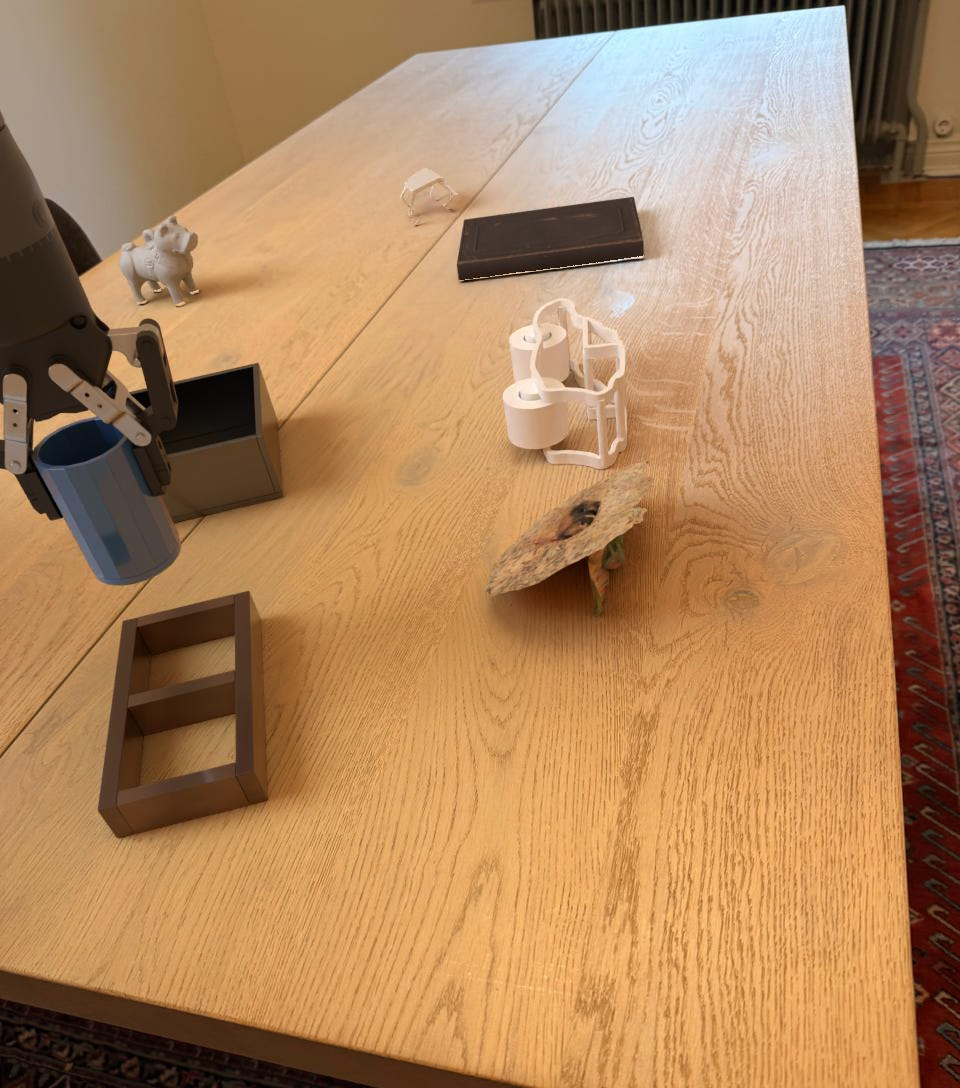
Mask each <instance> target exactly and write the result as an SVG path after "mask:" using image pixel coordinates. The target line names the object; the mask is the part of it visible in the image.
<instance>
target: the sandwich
mask: <svg viewBox="0 0 960 1088" xmlns="http://www.w3.org/2000/svg"><path fill="white" fill-rule="evenodd" d="M649 464H650V462H649V461H648V460H645V461H638V462H635V463H631V464H629V465H625V466H623V467H622V468H620V469H618V470H617V471H616V472H614V473H612V474H610V475H608V476H606V477H604V478H603V479H601V480H600V481H598V482H596V483H594V484H592V485H590V486H589V487H586V488H583V489H582V490H580V491H578V492H576V493H574V494H572V495H570V496H569V498H567V499H566V500H563V501H562V502H561V503H560V504H558V505H556V506H555V507H554V508H552V509H551V510H549V511H547V512H546V513H545V514H544V515H543V516H542V517H541V518H539V519H538V520H537V521H536V522H534V523H533V524H532V525H531V527H529V528H528V529H527V530H526V531H524V533H523V534H521V535H520V536H519V537H517V538H516V539H515V540H514V541H513V542H512V543H511V544H510V545H508V546H507V548H506V549H504V550H503V552H501V553H500V555H499V557H498V558H497V559H496V561H495V563H494V564H493V567H492V569H491V570H492V571H491V574H490V577H489V578H490V579H489V582H488V584H487V585H486V588H485V593H488V595H490V596H491V597H495V596H497V595H502V594H504V593H508V592H512V591H520V590H523V589H524V588H528V587H531V586H534V585H537V584H540V583H541V582H543V581H544V580H546V579H548V578H549V577H551V576H552V575H554V574H555V573H557V572H559V571H561V570H562V569H564V568H567V567H568V566H570V565H572V564H574V563H577V562H579V561H580V560H583V559H584V560H585V562H586V563H587V566H588V573H589V580H590V581H589V582H590V587H591V591H592V599H593V602H594V611H593V615H594V617H599V616H600V615H601V613H602V612H603V610H604V608H605V606H606V597H607V592H608V589H609V584H610V572H609V571H608V570H616V569H619V568H621V567H622V566H623V564H624V563H625V561H626V550H625V546H624V537H623V535H624V534H626V533H627V531H629V530H631V529H632V528H633V526H634V524H641V523H642V522H643V521H644V518H645V517H644V515H645V513H646V512H648V511H649V510H648V509H646V508H645V507H641V506H637V505H638V504H639V503H640V502H641V501H642V499H643V498H644V497H645V496H646V494H648V493H649V492H650V490H651V488H652V487H654V483H655V478H654V477H653V476H652V475H649V474H647V473H646V471H647V469H648V467H649V466H650V465H649Z"/></svg>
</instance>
